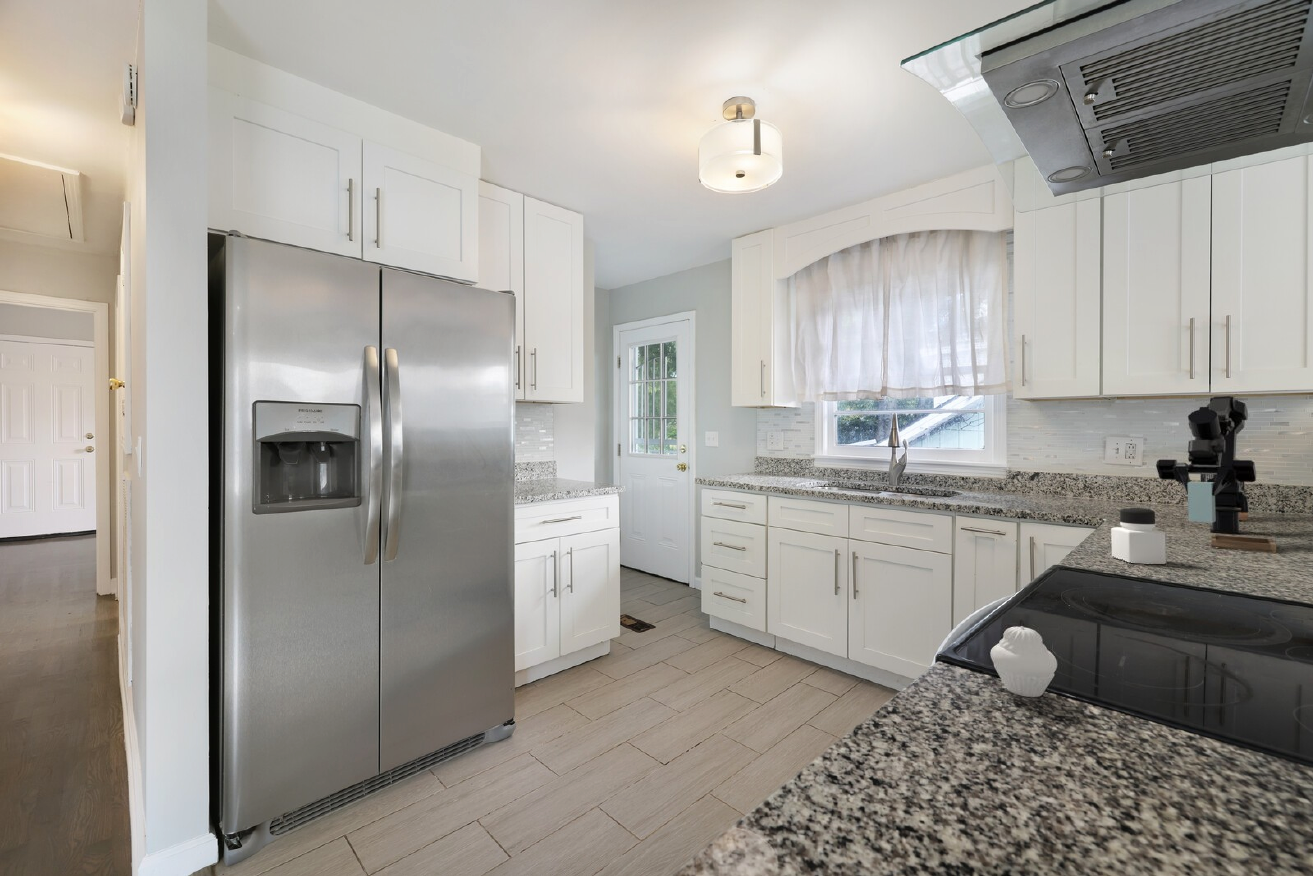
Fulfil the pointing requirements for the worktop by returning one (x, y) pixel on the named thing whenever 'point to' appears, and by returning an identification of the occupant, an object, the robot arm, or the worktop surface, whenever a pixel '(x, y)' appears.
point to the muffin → (1023, 662)
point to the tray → (1243, 543)
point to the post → (1201, 502)
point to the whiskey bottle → (1241, 515)
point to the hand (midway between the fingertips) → (1200, 494)
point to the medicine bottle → (1138, 537)
